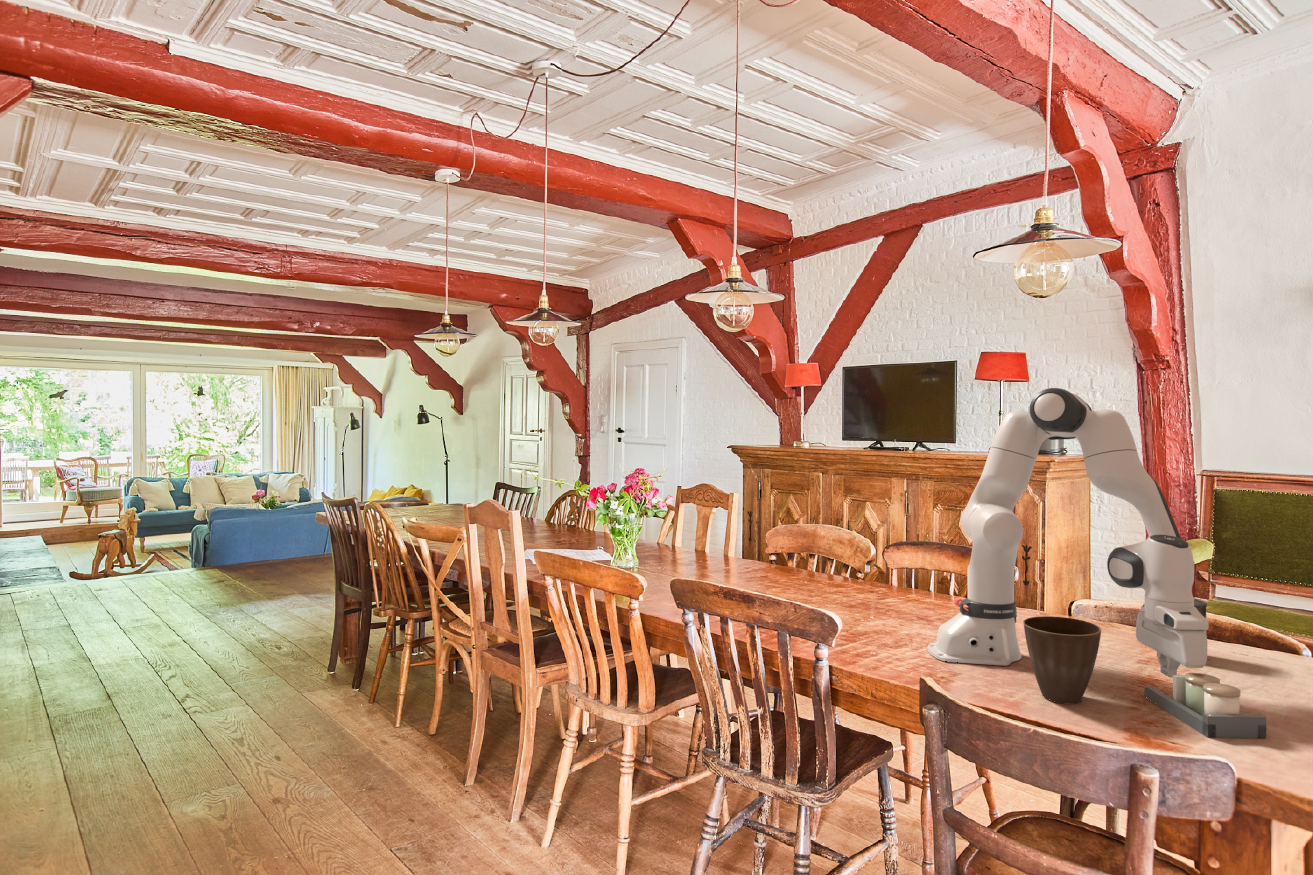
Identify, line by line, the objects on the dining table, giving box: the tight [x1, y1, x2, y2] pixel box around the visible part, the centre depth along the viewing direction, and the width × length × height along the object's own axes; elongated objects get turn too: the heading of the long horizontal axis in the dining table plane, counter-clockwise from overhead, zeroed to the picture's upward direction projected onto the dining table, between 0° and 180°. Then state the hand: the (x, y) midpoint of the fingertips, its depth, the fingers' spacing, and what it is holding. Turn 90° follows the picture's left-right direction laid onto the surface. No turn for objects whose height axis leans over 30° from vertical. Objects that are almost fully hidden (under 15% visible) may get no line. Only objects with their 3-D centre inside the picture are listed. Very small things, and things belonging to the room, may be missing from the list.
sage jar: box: [1184, 672, 1221, 716], centre depth 153 cm, size 6×6×8 cm
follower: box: [1172, 674, 1186, 706], centre depth 158 cm, size 7×4×7 cm, turn 86°
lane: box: [1144, 685, 1267, 739], centre depth 154 cm, size 10×21×4 cm, turn 176°
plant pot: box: [1023, 615, 1102, 704], centre depth 165 cm, size 15×15×16 cm
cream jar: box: [1203, 683, 1241, 714], centre depth 147 cm, size 6×6×8 cm
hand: (1168, 675), depth 164 cm, fingers closed
